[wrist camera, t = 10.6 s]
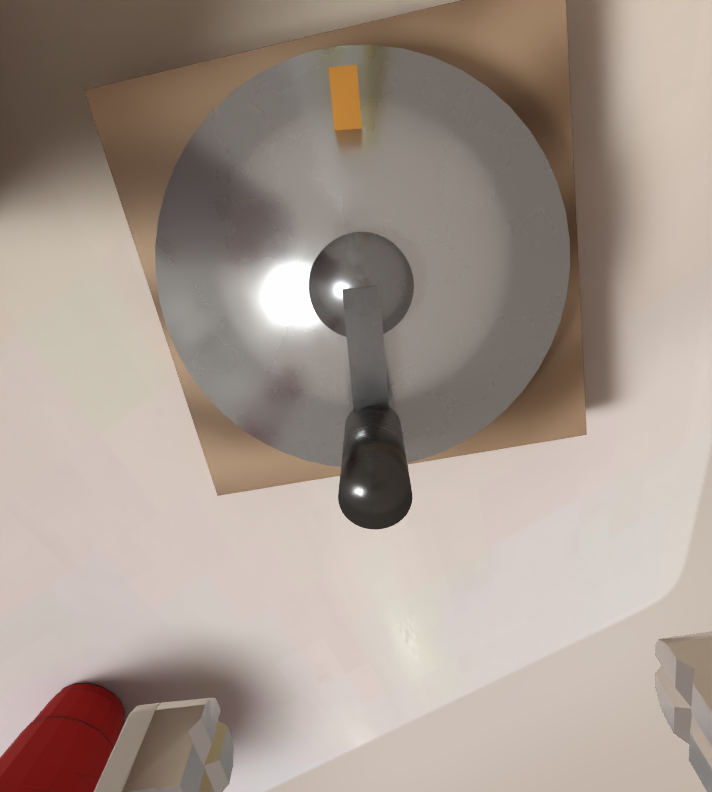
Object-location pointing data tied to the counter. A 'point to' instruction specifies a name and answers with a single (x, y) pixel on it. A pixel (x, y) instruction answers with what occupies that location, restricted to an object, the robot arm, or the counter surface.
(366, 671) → the counter surface
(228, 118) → the handwheel
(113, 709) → the plastic cup
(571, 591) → the counter surface
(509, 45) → the walnut base
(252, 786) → the counter surface
